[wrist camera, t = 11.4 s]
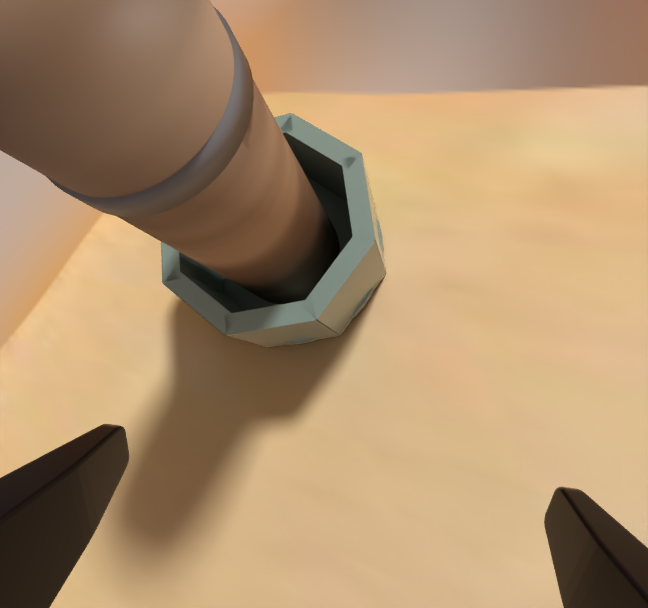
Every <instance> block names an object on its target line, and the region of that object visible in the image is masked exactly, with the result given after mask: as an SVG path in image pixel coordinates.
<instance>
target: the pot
mask: <svg viewBox="0 0 648 608" xmlns="http://www.w3.org/2000/svg"><path fill="white" fill-rule="evenodd" d="M274 119H275V120H276V122H277V124H278V126H279V128H280V129H281V131H282V133H283V135H284V137H285V139H286V140H287V142H288V144H289V146H290V148H291V150H292V151H293V153H294V155H295V157H296V159H297V160H298V162H299V164H300V166H301V168H302V170H303V171H304V173H305V175H306V177H307V179H308V181H309V182H310V184H311V186H312V188H313V190H314V192H315V193H316V195H317V197H318V199H319V201H320V202H321V204H322V206H323V208H324V210H325V212H326V213H327V215H328V217H329V219H330V221H331V223H332V224H333V226H334V228H335V230H336V232H337V235H338V239H339V245H340V254H339V256H338V257H337V258H336V260H335V261H334V262H333V264H332V265H331V266H330V268H329V269H328V270H327V272H326V273H325V274H324V276H323V277H322V278H321V280H320V281H319V282H318V284H317V285H316V286H315V288H314V289H313V290H312V292H311V293H310V294H309V296H308V297H307V298H306V300H303V301H298V302H292V303H286V304H275V303H271V302H268V301H266V300H264V299H262V298H260V297H258V296H257V295H255V294H253V293H251V292H249V291H248V290H246V289H244V288H242V287H241V286H239V285H237V284H235V283H234V282H232V281H230V280H228V279H227V278H225V277H223V276H221V275H220V274H218V273H216V272H214V271H212V270H211V269H209V268H207V267H205V266H204V265H202V264H200V263H198V262H197V261H195V260H193V259H191V258H190V257H188V256H186V255H184V254H183V253H181V252H179V251H177V250H175V249H174V248H172V247H170V246H168V245H167V244H165V243H163V242H161V256H162V282H163V284H164V285H165V286H166V287H168V288H169V289H170V290H171V291H172V292H174V293H175V294H176V295H177V296H178V297H180V298H181V299H182V300H183V301H184V302H185V303H187V304H188V305H189V306H190V307H191V308H193V309H194V310H195V311H196V312H197V313H199V314H200V315H201V316H202V317H203V318H205V319H206V320H207V321H208V322H209V323H211V324H212V325H213V326H214V327H215V328H217V329H218V330H219V331H220V332H221V333H222V334H224V335H226V336H230V337H233V338H237V339H240V340H244V341H247V342H251V343H254V344H258V345H262V346H265V347H273V346H280V345H296V344H305V343H310V342H314V341H317V340H320V339H324V338H330V337H337V336H340V335H341V334H342V333H343V332H344V330H345V329H346V328H347V326H348V325H349V324H350V322H351V321H352V320H353V319H354V318H355V317H356V316H357V315H358V314H359V313H360V312H361V310H362V309H363V308H364V307H365V305H366V304H367V302H368V301H369V299H370V298H371V296H372V294H373V292H374V290H375V289H376V287H377V286H378V284H379V283H380V282H381V280H382V279H383V278H384V276H385V275H386V269H385V263H384V257H383V252H384V248H383V238H382V233H381V229H380V225H379V221H378V219H377V214H376V208H375V203H374V199H373V195H372V191H371V188H370V184H369V180H368V176H367V172H366V168H365V164H364V161H363V157H362V154H361V152H359V151H357V150H355V149H354V148H352V147H350V146H348V145H347V144H345V143H343V142H341V141H340V140H338V139H336V138H334V137H333V136H331V135H329V134H327V133H326V132H324V131H322V130H320V129H319V128H317V127H315V126H313V125H312V124H310V123H308V122H306V121H305V120H303V119H301V118H299V117H298V116H296V115H294V114H291V113H289V114H286V115H282V116H278V117H274Z"/></svg>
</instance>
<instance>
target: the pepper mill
mask: <svg viewBox="0 0 648 608" xmlns="http://www.w3.org/2000/svg"><path fill="white" fill-rule="evenodd" d="M0 150H1V151H3V152H5V153H6V154H8V155H10V156H12V157H13V158H15V159H17V160H19V161H20V162H22V163H24V164H26V165H28V166H29V167H31V168H33V169H35V170H37V171H38V172H40V173H42V174H43V175H45V176H46V177H47V178H48V179H49V180H50V181H51V182H53V184H54V185H55V186H57V187H58V188H60V189H61V190H63V191H64V192H66V193H67V194H69V195H71V196H73V197H75V198H77V199H78V200H80V201H82V202H84V203H86V204H87V205H89V206H91V207H93V208H95V209H97V210H99V211H101V212H104V213H107V214H111V215H114V216H117V217H119V218H121V219H123V220H124V221H126V222H128V223H130V224H131V225H133V226H135V227H137V228H138V229H140V230H142V231H144V232H146V233H147V234H149V235H151V236H153V237H154V238H156V239H158V240H160V241H161V242H163V243H165V244H167V245H168V246H170V247H172V248H174V249H175V250H177V251H179V252H181V253H183V254H184V255H186V256H188V257H190V258H191V259H193V260H195V261H197V262H198V263H200V264H202V265H204V266H205V267H207V268H209V269H211V270H212V271H214V272H216V273H218V274H220V275H221V276H223V277H225V278H227V279H228V280H230V281H232V282H234V283H235V284H237V285H239V286H241V287H242V288H244V289H246V290H248V291H249V292H251V293H253V294H255V295H257V296H258V297H260V298H262V299H264V300H266V301H268V302H271V303H275V304H286V303H292V302H298V301H303V300H306V298H307V297H308V296H309V294H310V293H311V292H312V290H313V289H314V288H315V286H316V285H317V284H318V282H319V281H320V280H321V278H322V277H323V276H324V274H325V273H326V272H327V270H328V269H329V268H330V266H331V265H332V264H333V262H334V261H335V260H336V258H337V257H338V256H339V254H340V245H339V239H338V235H337V232H336V230H335V228H334V226H333V224H332V223H331V221H330V219H329V217H328V215H327V213H326V212H325V210H324V208H323V206H322V204H321V202H320V201H319V199H318V197H317V195H316V193H315V192H314V190H313V188H312V186H311V184H310V182H309V181H308V179H307V177H306V175H305V173H304V171H303V170H302V168H301V166H300V164H299V162H298V160H297V159H296V157H295V155H294V153H293V151H292V150H291V148H290V146H289V144H288V142H287V140H286V139H285V137H284V135H283V133H282V131H281V129H280V128H279V126H278V124H277V122H276V120H275V119H274V117H273V115H272V113H271V111H270V109H269V108H268V106H267V104H266V102H265V100H264V98H263V97H262V95H261V93H260V91H259V89H258V88H257V86H256V84H255V82H254V80H253V78H252V74H251V69H250V67H249V63H248V61H247V59H246V57H245V55H244V53H243V51H242V49H241V47H240V46H239V44H238V42H237V40H236V38H235V36H234V34H233V32H232V30H231V29H230V27H229V25H228V23H227V21H226V20H225V19H224V17H223V16H222V15H221V13H220V12H219V11H218V10H217V9H216V8H215V7H213V5H212V4H211V2H210V0H0Z"/></svg>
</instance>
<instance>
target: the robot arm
mask: <svg viewBox="0 0 648 608" xmlns="http://www.w3.org/2000/svg"><path fill="white" fill-rule="evenodd" d="M128 461H129V451H128V444H127V438H126V432H125V429H124V428H123V427H122V426H119V425H112V424H103V425H101V426H99V427H97V428H95V429H93V430H91V431H89V432H87V433H85V434H83V435H81V436H79V437H78V438H76V439H74V440H72V441H70V442H68V443H66V444H64V445H62V446H60V447H58V448H57V449H55V450H53V451H51V452H49V453H47V454H45V455H43V456H41V457H39V458H38V459H36V460H34V461H32V462H30V463H28V464H26V465H24V466H22V467H20V468H18V469H17V470H15V471H13V472H11V473H9V474H7V475H5V476H3V477H1V478H0V608H49V607H50V606H51V604H52V602H53V601H54V599H55V597H56V596H57V594H58V593H59V591H60V589H61V588H62V586H63V584H64V583H65V581H66V579H67V578H68V576H69V575H70V573H71V571H72V570H73V568H74V566H75V565H76V563H77V561H78V560H79V558H80V556H81V555H82V553H83V552H84V550H85V548H86V547H87V545H88V543H89V541H90V540H91V538H92V536H93V534H94V533H95V531H96V529H97V527H98V525H99V523H100V521H101V519H102V517H103V515H104V513H105V510H106V508H107V506H108V504H109V502H110V500H111V498H112V496H113V494H114V492H115V490H116V488H117V486H118V484H119V482H120V480H121V478H122V475H123V473H124V471H125V469H126V467H127V465H128ZM544 523H545V530H546V534H547V539H548V543H549V547H550V551H551V556H552V560H553V564H554V569H555V573H556V577H557V582H558V586H559V590H560V595H561V599H562V603H563V606H564V608H648V548H647V547H646V546H645V545H644V544H643V543H641V542H640V541H639V540H638V539H637V538H636V537H635V536H633V535H632V534H631V533H630V532H629V531H628V530H627V529H625V528H624V527H623V526H622V525H621V524H620V523H619V522H617V521H616V520H615V519H614V518H613V517H612V516H611V515H609V514H608V513H607V512H606V511H605V510H604V509H603V508H601V507H600V506H599V505H598V504H597V503H596V502H595V501H593V500H592V499H591V498H590V497H589V496H588V495H586V494H585V493H584V492H583V491H581V490H579V489H574V488H567V487H558V488H557V489H556V490H555V492H554V494H553V497H552V499H551V502H550V504H549V507H548V509H547V512H546V514H545V521H544Z"/></svg>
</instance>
